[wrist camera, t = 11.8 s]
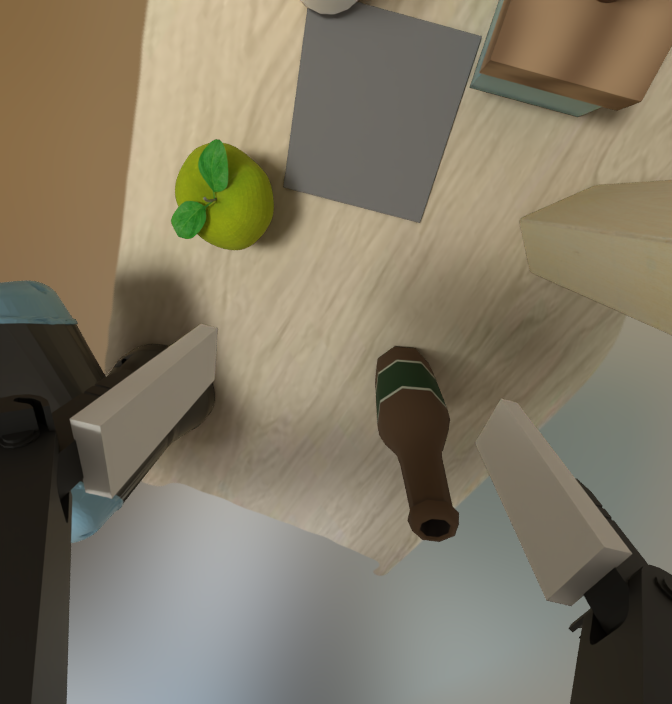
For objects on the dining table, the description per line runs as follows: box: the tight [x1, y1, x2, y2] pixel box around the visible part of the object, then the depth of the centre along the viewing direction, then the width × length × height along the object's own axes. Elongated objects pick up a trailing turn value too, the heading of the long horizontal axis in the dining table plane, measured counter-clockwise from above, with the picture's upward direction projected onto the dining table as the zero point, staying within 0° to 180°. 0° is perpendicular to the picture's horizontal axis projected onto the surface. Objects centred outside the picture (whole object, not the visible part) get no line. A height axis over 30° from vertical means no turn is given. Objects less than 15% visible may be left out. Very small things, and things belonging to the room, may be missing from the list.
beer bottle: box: [375, 347, 459, 542], centre depth 33 cm, size 8×8×24 cm
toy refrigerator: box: [520, 180, 672, 335], centre depth 25 cm, size 8×7×21 cm
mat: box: [284, 2, 482, 223], centre depth 31 cm, size 16×16×1 cm
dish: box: [470, 0, 601, 117], centre depth 25 cm, size 11×11×5 cm
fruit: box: [171, 139, 274, 250], centre depth 31 cm, size 9×9×10 cm
